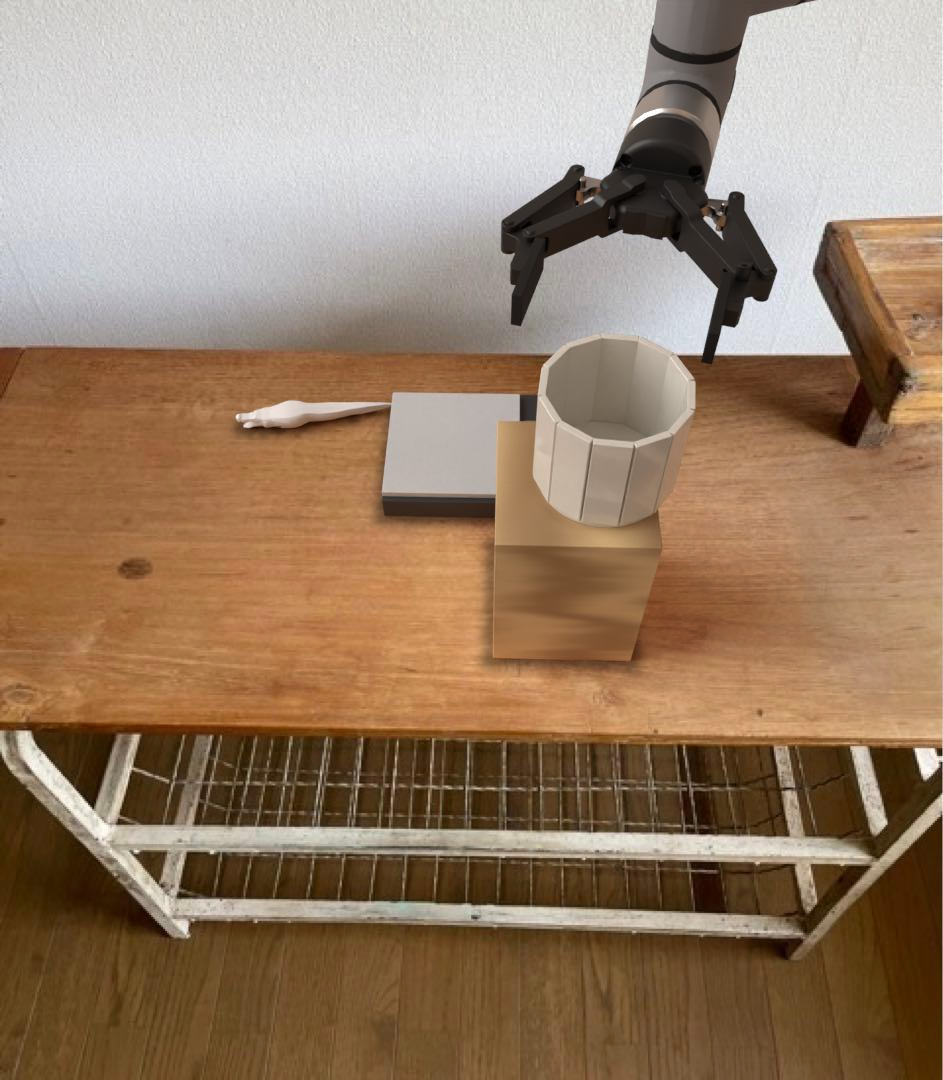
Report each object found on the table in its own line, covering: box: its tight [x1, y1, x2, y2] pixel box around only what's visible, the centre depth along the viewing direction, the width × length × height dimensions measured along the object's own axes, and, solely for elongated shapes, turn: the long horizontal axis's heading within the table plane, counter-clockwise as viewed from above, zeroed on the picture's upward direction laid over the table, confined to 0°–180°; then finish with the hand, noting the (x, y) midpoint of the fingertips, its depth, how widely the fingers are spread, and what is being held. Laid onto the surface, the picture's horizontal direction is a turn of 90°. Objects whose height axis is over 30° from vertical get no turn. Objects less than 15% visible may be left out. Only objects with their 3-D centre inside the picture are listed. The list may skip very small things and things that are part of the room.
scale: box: [381, 391, 538, 519], centre depth 84 cm, size 14×13×3 cm
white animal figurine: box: [235, 399, 392, 429], centre depth 87 cm, size 15×3×2 cm, turn 98°
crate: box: [492, 421, 663, 662], centre depth 70 cm, size 11×11×16 cm
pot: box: [533, 332, 697, 528], centre depth 60 cm, size 10×10×8 cm
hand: (611, 329), depth 63 cm, fingers open, 13 cm apart
